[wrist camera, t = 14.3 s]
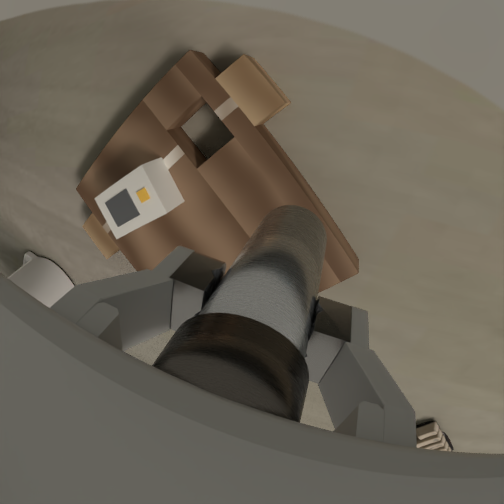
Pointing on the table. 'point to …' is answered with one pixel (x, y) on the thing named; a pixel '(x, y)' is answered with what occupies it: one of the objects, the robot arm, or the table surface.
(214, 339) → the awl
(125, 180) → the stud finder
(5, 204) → the table surface
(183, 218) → the board
